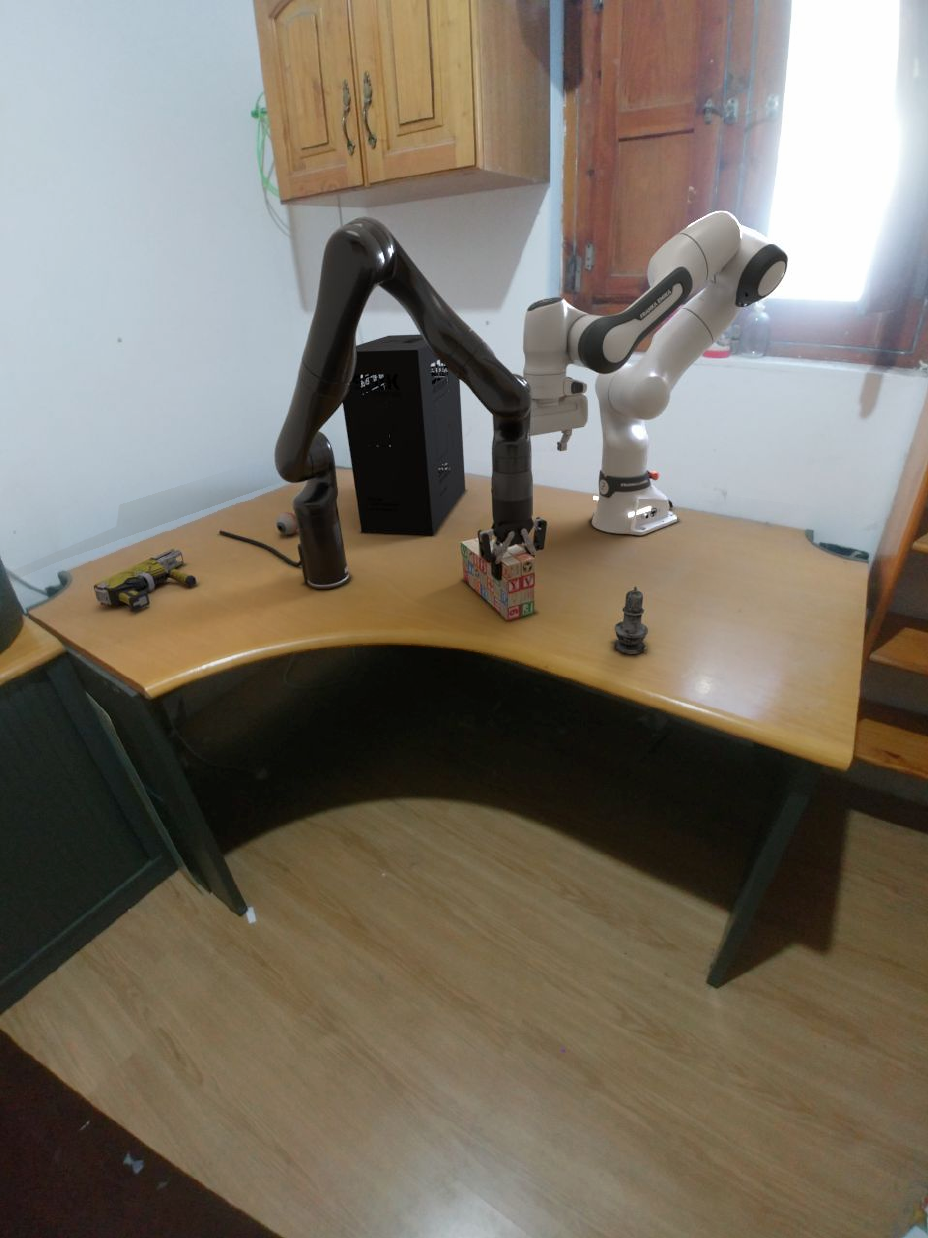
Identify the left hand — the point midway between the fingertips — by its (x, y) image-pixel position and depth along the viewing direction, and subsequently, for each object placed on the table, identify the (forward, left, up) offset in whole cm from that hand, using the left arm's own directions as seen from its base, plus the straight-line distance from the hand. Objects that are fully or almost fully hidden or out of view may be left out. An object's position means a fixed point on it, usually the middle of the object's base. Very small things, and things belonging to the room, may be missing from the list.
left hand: (513, 574), depth 118 cm
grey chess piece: (+24, -6, -8) cm, 26 cm away
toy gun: (-81, -15, -8) cm, 83 cm away
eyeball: (-72, +21, -8) cm, 76 cm away
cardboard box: (-47, +48, -8) cm, 68 cm away
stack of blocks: (-6, +5, -8) cm, 11 cm away
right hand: (-2, +27, +17) cm, 32 cm away
